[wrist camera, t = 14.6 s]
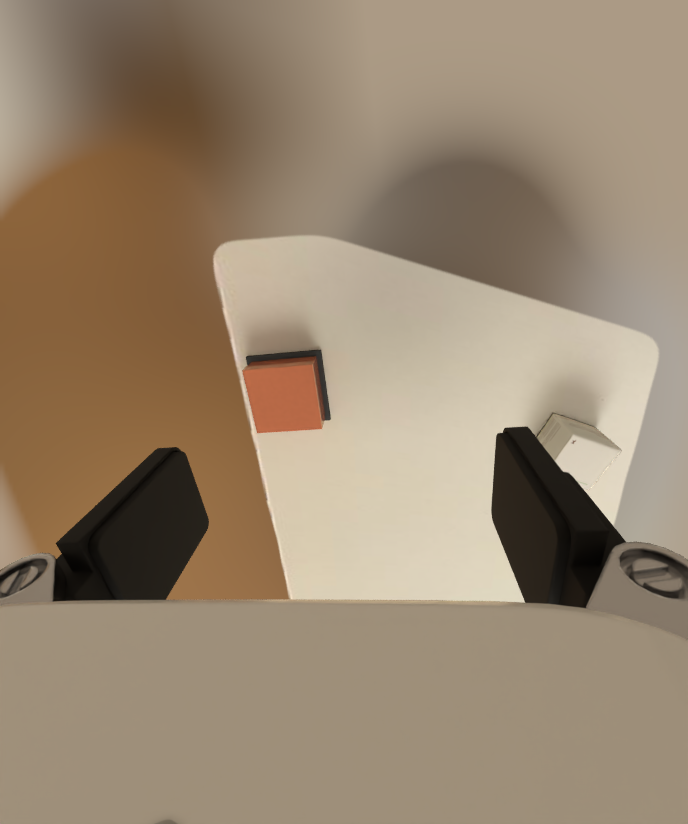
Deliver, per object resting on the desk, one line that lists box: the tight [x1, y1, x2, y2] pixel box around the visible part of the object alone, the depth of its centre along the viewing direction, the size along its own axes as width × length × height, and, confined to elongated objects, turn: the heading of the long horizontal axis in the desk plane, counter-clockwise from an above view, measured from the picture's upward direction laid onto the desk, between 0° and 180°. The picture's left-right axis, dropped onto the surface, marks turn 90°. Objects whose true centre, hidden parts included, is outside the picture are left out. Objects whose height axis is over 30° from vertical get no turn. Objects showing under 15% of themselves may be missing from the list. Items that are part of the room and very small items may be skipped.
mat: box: [246, 350, 331, 420], centre depth 42 cm, size 8×8×1 cm
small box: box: [537, 414, 622, 490], centre depth 40 cm, size 6×6×5 cm
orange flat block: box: [242, 356, 325, 433], centre depth 40 cm, size 7×7×3 cm
